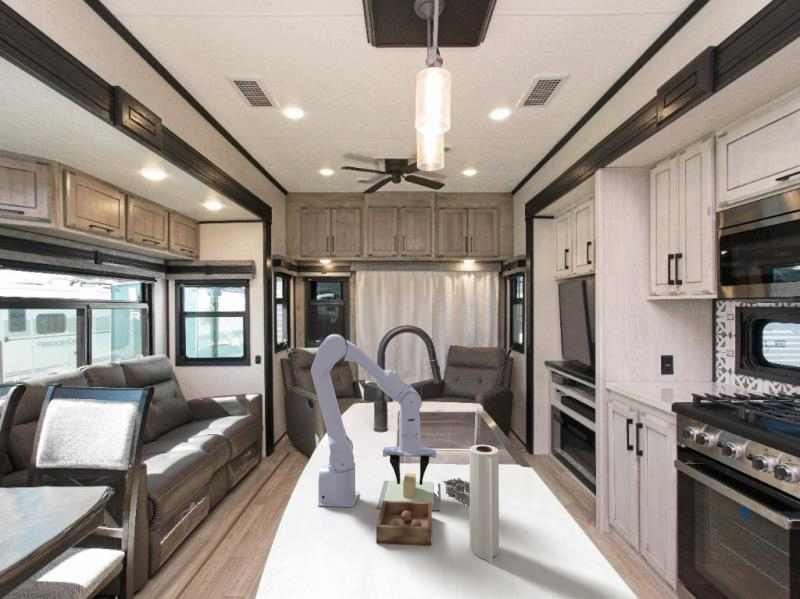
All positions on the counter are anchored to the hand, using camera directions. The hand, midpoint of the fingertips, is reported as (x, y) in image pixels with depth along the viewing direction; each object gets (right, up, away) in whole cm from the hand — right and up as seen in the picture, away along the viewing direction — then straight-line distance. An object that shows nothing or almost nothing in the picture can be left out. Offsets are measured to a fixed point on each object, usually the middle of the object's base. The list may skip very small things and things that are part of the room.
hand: (409, 482), depth 111 cm
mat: (0, -3, 0) cm, 3 cm away
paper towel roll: (+15, -3, -25) cm, 30 cm away
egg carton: (+15, -4, -1) cm, 15 cm away
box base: (-1, -3, -17) cm, 17 cm away
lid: (0, -3, -1) cm, 3 cm away
